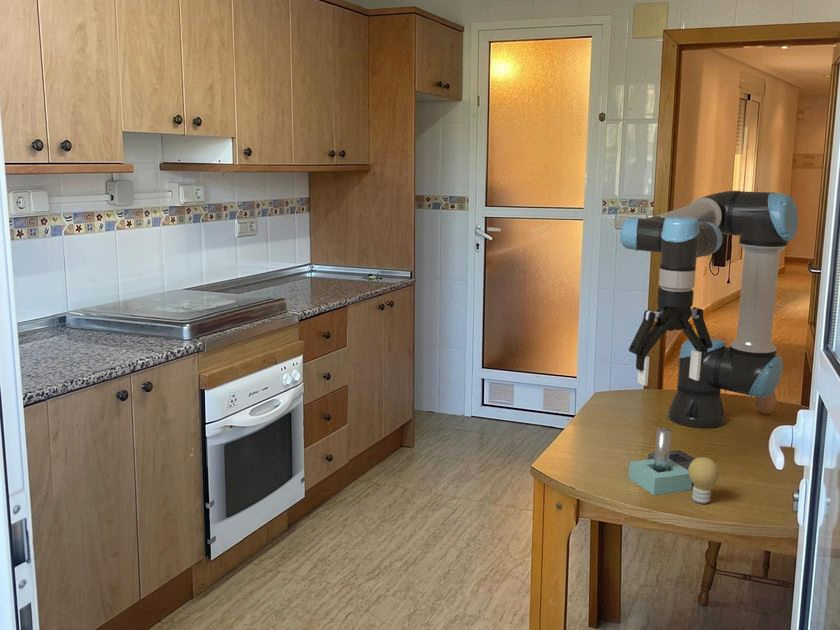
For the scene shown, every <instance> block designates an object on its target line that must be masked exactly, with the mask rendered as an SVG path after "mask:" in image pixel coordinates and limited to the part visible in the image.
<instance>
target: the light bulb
mask: <svg viewBox="0 0 840 630" xmlns="http://www.w3.org/2000/svg"><path fill="white" fill-rule="evenodd" d="M719 469H720V468H719V466H718V465H717V463H716V461H714V460H713V459H711V458H709V457H705V456H704V457H703V456H701V457H699V456H698V457H696V458H694V460H693V461H692V462H691V463H690V465H689V468H688V474H689V477H690V479H691V481H692V484H693V485H692V486H693V487H692V495H691V496H692V497H691V499H692V500H693V501H694V502H695V503H697V504H707V503H709V502H710V501H711V496H712V495H711V493H712V489H711V487H712V486H713V485H715V484H716V482H717V481H718V480H719V477H720V470H719Z"/></svg>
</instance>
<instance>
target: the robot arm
mask: <svg viewBox="0 0 840 630" xmlns="http://www.w3.org/2000/svg"><path fill="white" fill-rule="evenodd" d="M798 213H799V211H798V208H797V204H796V201H795V200H794V198H793V197H792V196H791V195H789V194H786V193H779V192H767V191H765V192H764V191H744V190H729V191H728V190H726V191H721V192H717V193H712V194H708V195H705V196H702V197H698V198H696V199H694V200H692V201H691V202H690V204H689V205H685V206H682V207H680V208H675V209H673V210H670V211H667V212H663V213H661V214H657V215H653V216H651V217H647V218H641V217H629V218H627V219H625V220H624V221H623V223H622V225H621V227H620V235H619V236H620V239H619V240H620V243H621V245H622V246H623V248H625V249H627V250H628V249H629V250H634V251H636V252H638V251H642V252H650V253H651V252H653V253H660V262H659V273H658V286H659V288H658V289H657V296H656V297H657V298H656V299H657V300H656V303H657V310H656V311H650V310H645V311H644V314H643V317H642V321H641V323H640V326H639V328H638V329H637V332H636V334H635V336H634V338H633V340H632V342H631V344H630V346H629V347H628V352H630V353H632V354H634V355H636V360H635V368H636V370H637V371H638V372H637V383H638V384H640V385H642V386H644V387H646V386H648V385H649V384H648V383H649V368H650V356H648V354H649V353H650V352H651V350H652V349H653V347H654V346H655V345H656V344H657V342H658V341H659V339H660V338H661V337H662V335H664V334H666V333H667V331H668V332H671V331H672V332H673V331H682V332H683V333H684V334H685V337H686V338H687V340H686V341H684V342H683V343H682V344H681V346H680V347H681V348H680V352H679V353H680V354H679V356H678V358H679V360H678V375H677V384H676V385H677V387H676V393H675V395H674V397H673V399H672V402H671V405H670V406H669V408H668V417H667V418H668V419H670V421H672V422H674V423H676V424H679V425H682V426H687V427H689V428H691V427H692V428H700V429H701V428H702V429H712V428H713V429H714V428H718V427H722V426H723V425H724V424H725V419H726V418H725V416H726V414H725V410H724V407H723V403H722V398H721V392H722V391H721V390H723V391H727V392H731V393H736V394H741V395H745V396H749V397H762V398H765V397H768V396H769V395H771V394H772V393H773V391H774V392H775V390H776V388H777V386H778V384H779V383H780V379H781V377H782V373H783V368H784V362H783V361H784V360H783V358H782V357H781V356H779V355H777V346H776V345H774V344H773V342H772V334H773V326H774V325H773V323H774V315H775V314H774V313H775V305H776V294H777V287H778V286H777V285H778V284H777V283H778V276H779V275H778V274H779V265H780V257H781V252H782V251H783V250H785V248H788V242H789V241H792V240H794V238H795V237H796V235H797V230H798V229H799V228H798V227H799V214H798ZM723 235H730V236H737V237H739V239H738V240H739V241H738V242H739V243H738V244H739V245H740V246H741V248H742V249H743V250H744V251H743V252H744V254H743V266H742V274H741V275H742V276H741V288H740V296H739V308H738V317H737V328H736V330H737V331H736V338H735V339H734V340H732V341H731V342H729V343H730V344H729V347H728V346H727V344H726V341H725V340H723V339H719V338H711V336H710V334H709V333H710V332H709V331H708V328H707V325H706V322H705V319H704V310H703V309H702V308H699V307H696V306H693V302H694V290H693V289H694V288H695V281H696V270H697V268H696V267H697V258H702V257H707V256H710V255H713V254H714V253H716V252H717V251H719V249H720V248H721V246H722V244H723V239H724V238H723ZM691 318H692V322H693V325H694V327H695V330H696V331H695V330H694V329H693V328H694V327H693V326H692V324H691V323H690V321H689V320H690V319H691Z"/></svg>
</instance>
